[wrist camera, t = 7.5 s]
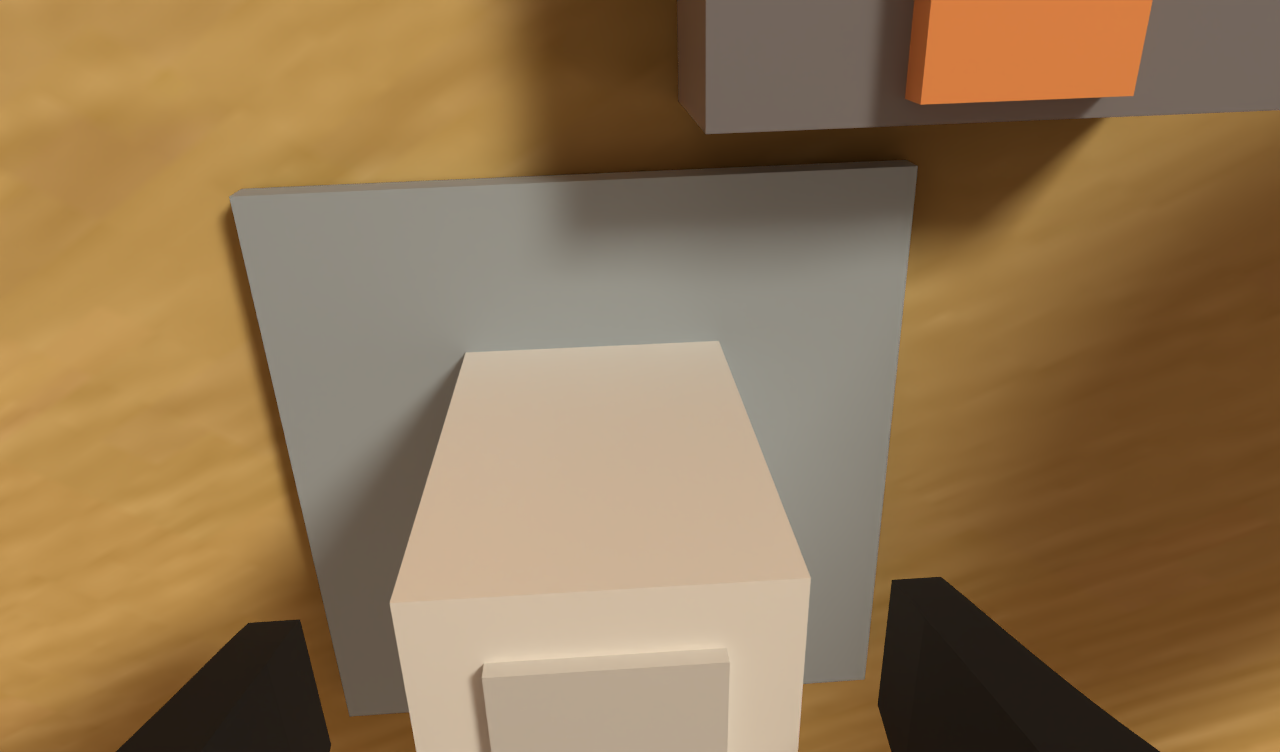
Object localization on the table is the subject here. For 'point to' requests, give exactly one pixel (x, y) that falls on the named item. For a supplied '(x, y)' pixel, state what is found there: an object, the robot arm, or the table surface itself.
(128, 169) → the table surface
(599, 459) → the block
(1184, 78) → the power strip
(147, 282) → the table surface
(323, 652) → the table surface
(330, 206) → the mat
